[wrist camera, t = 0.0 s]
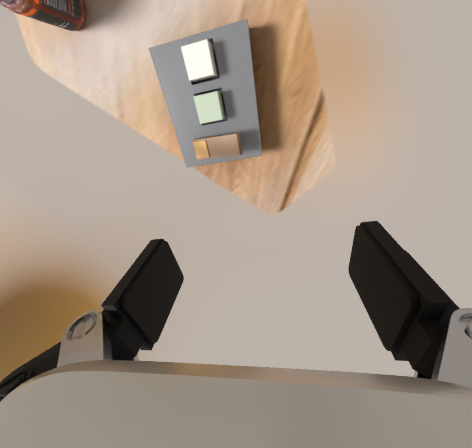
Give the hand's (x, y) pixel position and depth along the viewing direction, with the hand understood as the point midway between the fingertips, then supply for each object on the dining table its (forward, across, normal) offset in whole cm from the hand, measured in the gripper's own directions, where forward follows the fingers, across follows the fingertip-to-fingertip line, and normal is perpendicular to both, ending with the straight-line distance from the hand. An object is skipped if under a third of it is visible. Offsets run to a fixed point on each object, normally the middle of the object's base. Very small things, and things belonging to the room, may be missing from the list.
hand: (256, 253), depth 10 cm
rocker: (+25, +7, -1) cm, 26 cm away
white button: (+28, +7, -12) cm, 32 cm away
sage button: (+28, +7, -7) cm, 30 cm away
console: (+31, +7, -6) cm, 33 cm away
